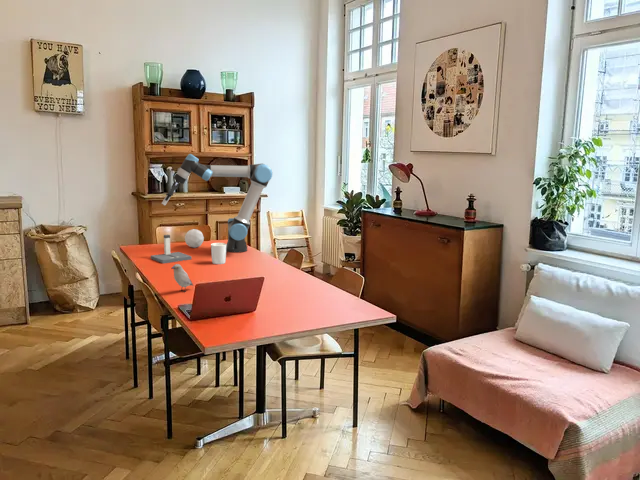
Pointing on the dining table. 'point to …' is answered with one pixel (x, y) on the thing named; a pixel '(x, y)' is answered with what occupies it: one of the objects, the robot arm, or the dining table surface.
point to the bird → (181, 276)
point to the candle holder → (218, 253)
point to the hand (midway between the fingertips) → (163, 203)
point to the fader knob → (166, 244)
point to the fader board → (171, 257)
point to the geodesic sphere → (194, 238)
